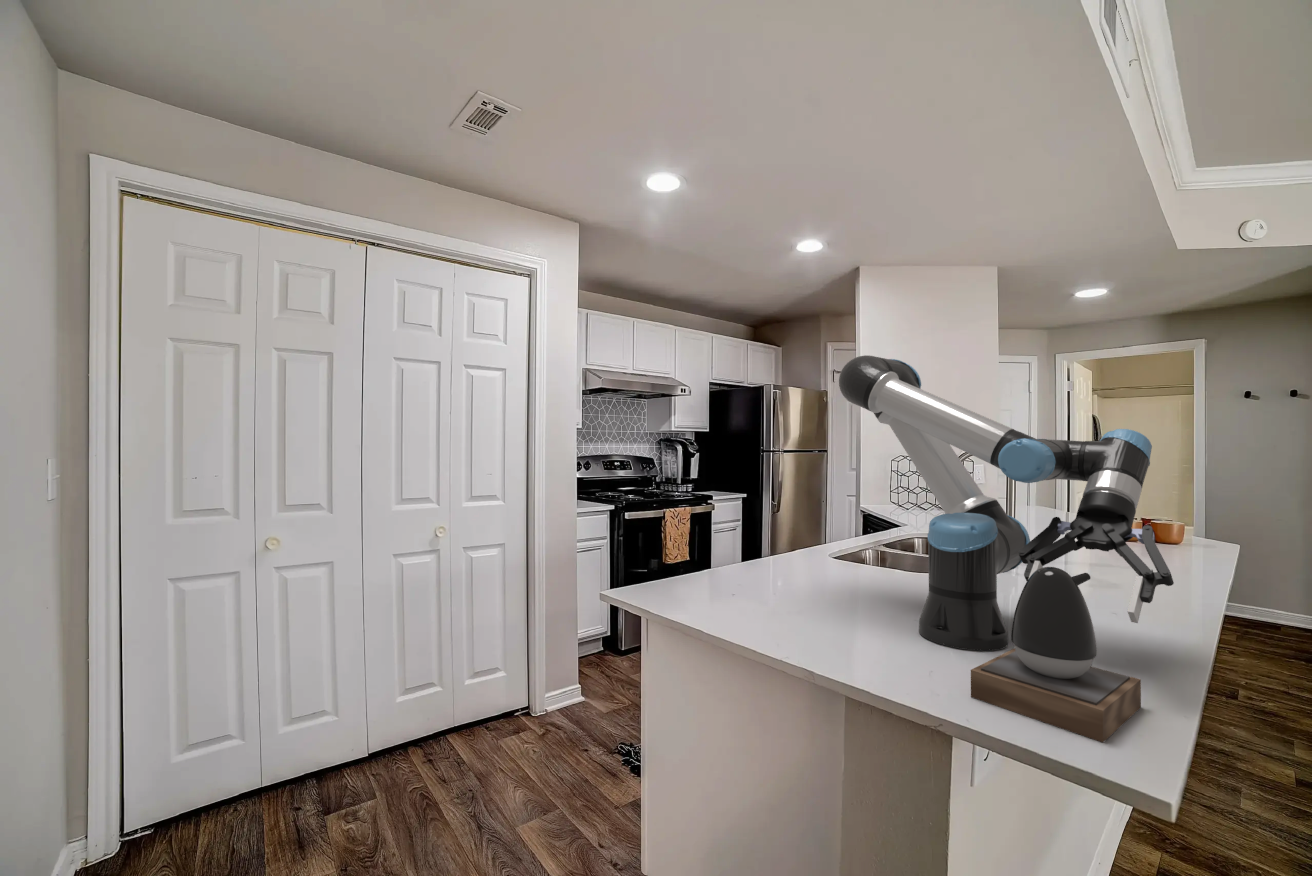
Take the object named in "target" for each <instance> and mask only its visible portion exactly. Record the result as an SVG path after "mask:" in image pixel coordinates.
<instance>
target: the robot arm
mask: <svg viewBox="0 0 1312 876" xmlns="http://www.w3.org/2000/svg"><path fill="white" fill-rule="evenodd" d="M838 377H839V378H838V386H839V387H838V388H839V391H840V393H841V394H842V396H843V398H845V400H847V401H849V402H850V403H851V404H854V405H856V406H858V407H861V408H863V409H864V410H867V411H869V412H871V413H873V414H874V416H875V418H876V420H877V421H878V422H879V423H881V424H883V425H888V426H889V428H891V430H892V431H893V433H894V435H895V437H896V438H897V440H898V442H900V444H901V446H902V448H903V449H904V451H905V452H906V454H907V455H908V457H909V459H910V461H911V462H912V463H913V465H914V466H915V469H916V470H917V471H918V473H919V474H920V476H921V477H922V479H923V481H924V482H925V484H926V485H927V486H928V488H929V490H930V492H931V493H932V495H933V497H934V498H935V499H936V501H937V503H938V504H939V505H940V507H941V509H942V511H943V513H944V514H939V515H936V516H935V517H933V518H932V519H931V520H930V521H929V523H928V533H927V544H928V548H927V549H928V550H927V551H928V552H927V553H928V593H927V597H926V600H925V603H924V606H923V609H922V611H921V614H920V617H919V620H918V633H919V634H920V635H921V636H922V637H923V638H924V639H927V640H929V641H930V642H933V643H936V644H939V645H943V646H946V647H950V648H956V649H962V650H969V651H979V652H980V651H984V652H985V651H986V652H987V651H989V652H990V651H998V650H1002V649H1005V648H1006V647H1008V645H1009V633H1008V629H1007V627H1006V623H1005V621H1004V618H1003V616H1002V612H1001V610H1000V607H999V604H998V596H997V594H998V592H997V589H998V588H997V587H998V585H997V582H998V581H997V579H998V575H999V574H1002V573H1003V574H1005V573H1008V572H1010V571H1012V570H1015V569H1016V568H1017V567H1018V566H1019V565H1022V564H1023V565H1024V564H1025V565H1026V567H1025V570H1024V572H1023V576H1024V579H1025V580H1026V582H1027V581H1028V579H1029V578H1030V576H1031V575H1032V574H1033V573H1034V572H1035V571H1036V570H1038V569H1040V568H1044V567H1043V566H1046V565H1048V564H1050V563H1051V562H1054V561H1055V560H1057V559H1059V558H1061V557H1063V556H1065V555H1067V554H1069V553H1070V552H1072V551H1079V550H1080V549H1082V548H1085V549H1086V550H1100V551H1102V552H1109V551H1113V550H1114V551H1115V552H1116V553H1117V554H1118V555H1119V557H1121V558H1122V559H1123V560H1124V561H1125V563H1127V564H1128V565H1129V567H1131V569H1132V570H1134V572H1135V573H1136V574H1137V575H1136V576H1135V580H1134V584H1133V588H1132V591H1131V595H1130V600H1129V603H1128V606H1127V607H1128V608H1127V615H1128V616H1129V620H1130V622H1131V623H1134V624H1138V623H1139V621H1140V616H1141V612H1142V607H1143V603H1147V604H1151V602H1153V599H1154V594H1155V590H1156V587H1158V586H1159V585H1160V586H1161V585H1165V586H1166V587H1170V586H1173V585H1174V584H1175V583H1174V579H1173V575H1172V573H1171V571H1170V569H1169V567H1168V564H1167V563H1166V561H1165V559H1164V557H1163V555H1162V553H1161V552H1160V550H1159V548H1158V546H1157V544H1156V536H1155V532H1154V530H1153V527H1152V526H1151V525H1150V524H1149V525H1147V524H1146V525H1144V526H1142V528H1132V527H1133V524H1134V520H1135V516H1136V512H1137V508H1138V504H1139V501H1140V498H1141V495H1142V489H1143V487H1144V481H1145V479H1146V476H1147V473H1148V470H1149V467H1150V465H1151V453H1152V448H1153V446H1152V443H1151V441H1150V439H1149V438H1148V437H1147V436H1146V435H1144V434H1143V433H1141V432H1140V431H1139V432H1138V431H1136V430H1133V429H1129V428H1116V429H1113V430H1110V431H1107V432H1106V433H1104V434H1103V436H1101V439H1099V440H1085V441H1084V440H1067V439H1066V440H1063V439H1047V438H1046V439H1045V438H1036V437H1034V436H1033V437H1032V436H1030V435H1028V434H1026V433H1023V432H1021V431H1019V430H1015V429H1014V428H1012V427H1009V426H1007V425H1005V424H1003V423H1000V422H997V421H995V420H993V419H991V418H989V417H986V416H984V415H981V414H979V413H977V412H975V411H972V410H971V409H968V408H966V407H963V406H960V404H959V405H958V404H956V403H953V402H952V401H949V400H947V399H945V398H941V397H940V396H938V395H935V394H933V393H930V392H928V391H926V390H924V389H921V387H922V381H921V377H920V375H919V373H918V371H917V370H916V369H915V368H914V367H913V366H912V365H910V364H908V363H906V362H904V361H902V360H899V359H895V358H885V357H884V358H883V357H881V356H880V357H879V356H875V355H865V354H864V355H861V356H856V357H854V358H852V359H850V360H849V361H848V362H846V364H844V366H843V367H842V369H841V371H840V374H839V376H838ZM953 447H955V448H957V449H959V450H960V451H963V452H965V453H967V454H969V455H971V456H973V457H976V458H978V459H980V460H982V461H984V462H986V463H987V464H990V465H992V466H994V467H995V468H998V469H999V470H1001V472H1002V473H1003V474H1004V475H1005V476H1006V477H1007V478H1009V479H1010V480H1012V481H1015V482H1020V483H1024V484H1033V483H1038V482H1042V481H1051V480H1064V481H1065V480H1066V481H1080V482H1082V481H1083V482H1086V484H1085V487H1084V491H1083V494H1082V497H1081V500H1080V503H1079V505H1078V508H1077V512H1076V516H1075V518H1074V519H1073V521H1071V522H1070V521H1065V520H1061V518H1060V517H1059V516H1055V517H1053V518H1052V519H1051V521H1050V522H1049V525H1048V526H1047V527H1046V528H1045V529H1043V530H1042V531H1041V532H1040V533H1039V534H1037V535H1036V536H1035V537H1034V538H1032V539H1030V534H1029V532H1028V530H1027V529H1026V527H1025V526H1024V524H1023V523H1022V522H1021V521H1019V520H1018V519H1017V518H1015V517H1014V516H1012V515H1011V516H1010V515H1008V514H1007V513H1006V511H1005V510H1004V508H1003V506H1002V505H1001V504H1000V503H999V501H998V500H997V499H996V498H993V497H989V496H987V495H985V494H984V493H983V491H982V490H981V488H980V487H979V486H978V484H977V483H976V480H974V478H973V476H971V474H970V473H969V471H968V469H967V468H966V467H965V465H964V463H963V462H962V461H961V459H960V457H959V456H958V454H957V453H956V452H955V450H954V449H953ZM1067 531H1069V532H1067ZM1066 532H1067V533H1066ZM1061 535H1062V536H1063V535H1064V536H1063V537H1062V538H1060V537H1061ZM1133 538H1135V539H1137V541H1138V542H1139V543H1140V544H1142V545H1144V547H1145V550H1146V552H1147V554H1148V556H1149V558H1150V560H1151V562H1152V564H1153V566H1154V568H1155V570H1156V572H1154V570H1153V569H1150V567H1149V566H1148V565H1147V564H1146V563H1145V562H1144V561H1143V560H1142V559H1141V558H1140V557H1139V556H1138V555H1137V554H1136V552H1135V550H1133V549H1132V548H1131V547H1130V546H1129V545H1128V543H1127V542H1129V541H1131V539H1133ZM1075 539H1076V540H1077V541H1076V540H1075Z"/></svg>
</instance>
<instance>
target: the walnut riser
mask: <svg viewBox="0 0 1312 876" xmlns="http://www.w3.org/2000/svg"><path fill="white" fill-rule="evenodd" d="M970 697H971V698H973V699H976V700H978V701H982V702H984V703H986V704H990V705H993V706H996V707H998V708H1002V709H1005V710H1008V711H1010V712H1013V713H1016V714H1019V715H1022V716H1025V717H1028V718H1031V719H1034V720H1037V721H1040V722H1043V723H1045V724H1047V725H1051V726H1054V727H1057V728H1060V729H1063V730H1065V731H1068V732H1072V733H1075V734H1077V735H1080V736H1082V737H1086V738H1088V739H1092V740H1095V741H1097V742H1100V743H1104V742H1105V741H1106V740H1108V739H1109V738H1110V737H1111V736H1112V735H1113V734H1115V732H1116V731H1117V730H1118V729H1119V728H1121V727H1122V726H1124V724H1125V723H1126V722H1127V721H1128V720H1130V718H1132V717H1133V715H1135V714H1136V712H1138V711H1139V710H1140V709H1141V708H1142V679H1141V678H1138V677H1133V676H1130V675H1125V674H1121V673H1119V672H1115V671H1109V670H1106V669H1102V668H1099V667H1095V666H1092V665H1091V666H1090V668H1089V669H1088V671H1087V672H1086V673H1084V674H1083V675H1081V676H1079V677H1076V678H1070V679H1059V678H1052V677H1048V676H1044V675H1042V674H1039V673H1037V672H1035V671H1033V670H1031V669H1030V668H1028V667H1027V666H1026V665H1025V664H1024V663H1023V662H1022V661H1021V660H1020V658H1019V657H1018V655H1017V653H1016V650H1015V647H1014V648H1012V649H1010V650H1008V651H1006V652H1004V653H1002V654H1000V655H998V656H996V657H994V658H991V659H990V660H988V661H986V662H983V663H982V664H979V665H978V666H976V667H974V668H972V669H970Z"/></svg>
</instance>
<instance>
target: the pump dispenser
mask: <svg viewBox="0 0 1312 876" xmlns="http://www.w3.org/2000/svg"><path fill="white" fill-rule="evenodd" d="M1090 580H1091V575H1090V574H1089V573H1088V572H1083V573H1080V574H1076V575H1073V576H1071V575H1070V573H1068V572H1066V571H1065V570H1063V569H1062V568H1058V567H1054V566H1046V567H1043V568H1040V569H1038V570H1036V571H1035V572H1034V573H1033V574H1032V575H1031V576H1030V578H1029V579H1028V581H1026V583H1025V584H1024V586H1023V588H1022V590H1021V592H1020V595H1019V598H1018V599H1017V604H1016V607H1015V611H1014V614H1013V620H1012V626H1011V634H1010V635H1011V637H1010V639H1011V643H1012V644H1013V646H1014V648H1015V650H1016V653H1017V655H1018V657H1019V658H1020V660H1021V661H1022V662H1023V663H1024V664H1025V665H1026V666H1027V667H1028V668H1030V669H1031V670H1033V671H1035V672H1037V673H1039V674H1042V675H1044V676H1048V677H1052V678H1059V679H1070V678H1076V677H1079V676H1081V675H1083V674H1084V673H1086V672H1087V671H1088V669H1089V668H1090V666H1091V667H1092V664H1093V662H1094V659H1095V658H1096V657H1097V653H1098V652H1097V651H1098V650H1097V649H1098V648H1097V640H1096V634H1095V629H1094V628H1095V627H1094V624H1093V620H1092V617H1091V613H1090V610H1089V607H1088V604H1087V601H1086V600H1085V597H1084V595H1083V593H1082V591H1081V589H1080V587H1079V586H1080V585H1081V584H1084V583H1085V582H1087V581H1090Z"/></svg>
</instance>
